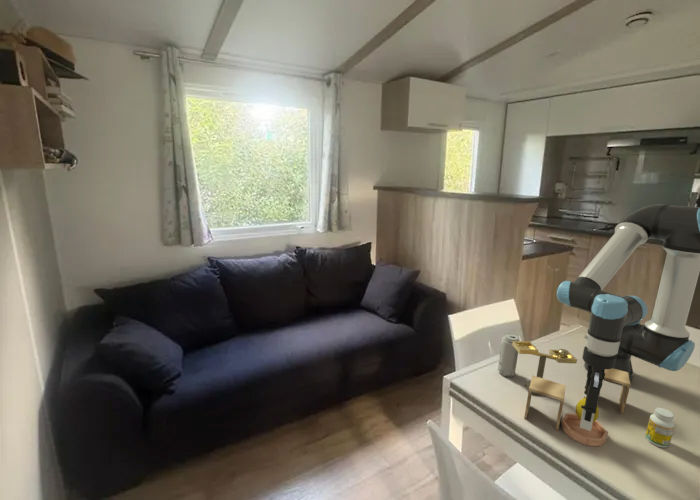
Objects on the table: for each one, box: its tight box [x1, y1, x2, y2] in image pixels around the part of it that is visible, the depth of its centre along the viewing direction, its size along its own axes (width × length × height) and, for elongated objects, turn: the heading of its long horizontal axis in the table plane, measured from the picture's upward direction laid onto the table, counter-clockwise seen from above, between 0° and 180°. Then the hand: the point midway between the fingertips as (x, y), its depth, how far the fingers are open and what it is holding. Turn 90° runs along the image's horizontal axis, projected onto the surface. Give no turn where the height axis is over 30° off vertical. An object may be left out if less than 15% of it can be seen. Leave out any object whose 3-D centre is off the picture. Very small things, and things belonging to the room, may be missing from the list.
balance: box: [512, 340, 578, 396], centre depth 124 cm, size 19×6×17 cm, turn 88°
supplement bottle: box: [644, 407, 675, 449], centre depth 102 cm, size 5×5×10 cm
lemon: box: [575, 398, 600, 422], centre depth 104 cm, size 6×6×8 cm
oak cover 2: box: [603, 368, 631, 415], centre depth 119 cm, size 9×8×11 cm
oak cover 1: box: [524, 375, 567, 432], centre depth 111 cm, size 9×8×11 cm
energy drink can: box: [497, 333, 520, 378], centre depth 134 cm, size 6×6×15 cm
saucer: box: [560, 412, 609, 448], centre depth 106 cm, size 11×11×2 cm
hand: (585, 422), depth 105 cm, fingers closed on lemon, 5 cm apart
